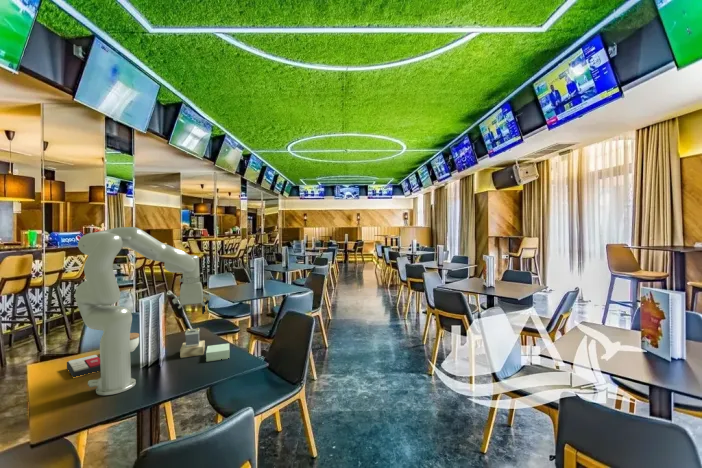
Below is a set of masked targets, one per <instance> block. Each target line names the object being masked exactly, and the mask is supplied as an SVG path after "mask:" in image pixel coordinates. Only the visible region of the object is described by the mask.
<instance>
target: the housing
mask: <svg viewBox="0 0 702 468" xmlns="http://www.w3.org/2000/svg"><path fill="white" fill-rule="evenodd" d="M200 331H201V329H200V328H199V327H196V328H187V329H186V331H185V332H184V335H185V343H186V345H185V348H186V347H194V346H199V344H200V341H201V340H200Z"/></svg>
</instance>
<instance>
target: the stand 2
mask: <svg viewBox="0 0 702 468" xmlns="http://www.w3.org/2000/svg"><path fill="white" fill-rule="evenodd" d="M205 352H206V353H205V358H206V359H205V361H206V362H207V363H208V362H214V361H222V360H228V358H229V359H230V343H228V342H227V343H221V344H213V345H207V348H206V351H205ZM221 359H222V360H221Z"/></svg>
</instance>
